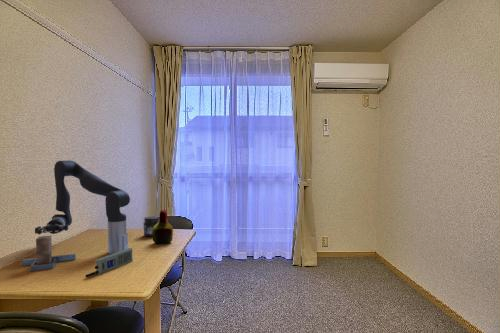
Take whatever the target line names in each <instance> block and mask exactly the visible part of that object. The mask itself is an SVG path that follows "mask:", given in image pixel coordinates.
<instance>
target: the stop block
mask: <svg viewBox="0 0 500 333" xmlns="http://www.w3.org/2000/svg"><path fill="white" fill-rule="evenodd" d="M35 247H36V248H35V258H36V265H39V264H48V263H52V256H53V254H52V249H53V248H52V235H44V236H38V237H37V238H36V239H35Z"/></svg>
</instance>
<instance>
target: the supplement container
mask: <svg viewBox="0 0 500 333" xmlns="http://www.w3.org/2000/svg"><path fill="white" fill-rule="evenodd" d="M143 219H144V220H143V221H144V222H143V236H144V237H145V238H153V236H152V231H153V227H154V226H155V225H156V224H157V223H158V222H159V216H156V215H154V216H146V217H143Z"/></svg>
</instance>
